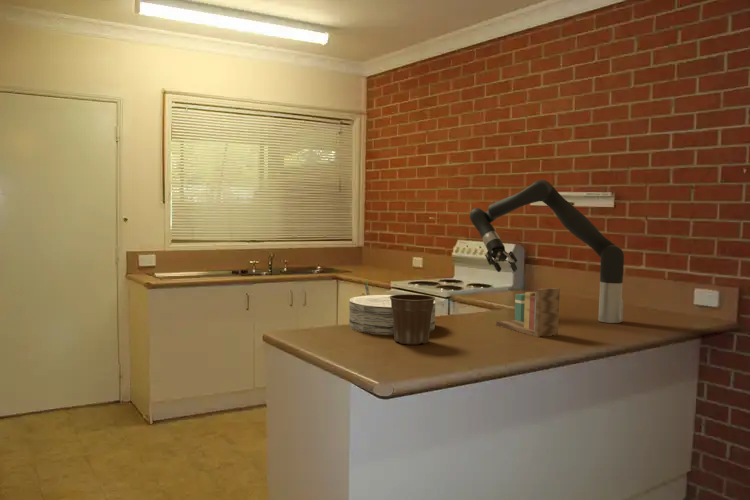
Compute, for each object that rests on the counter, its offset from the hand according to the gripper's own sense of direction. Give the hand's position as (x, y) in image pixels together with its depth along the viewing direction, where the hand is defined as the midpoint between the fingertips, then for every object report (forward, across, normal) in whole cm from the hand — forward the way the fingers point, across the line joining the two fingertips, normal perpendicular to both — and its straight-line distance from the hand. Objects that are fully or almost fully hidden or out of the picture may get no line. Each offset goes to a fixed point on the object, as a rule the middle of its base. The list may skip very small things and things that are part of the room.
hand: (507, 270), depth 275 cm
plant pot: (+37, -65, -7) cm, 75 cm away
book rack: (+33, -11, -4) cm, 35 cm away
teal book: (+24, -1, +6) cm, 24 cm away
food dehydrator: (+16, -59, +15) cm, 62 cm away
